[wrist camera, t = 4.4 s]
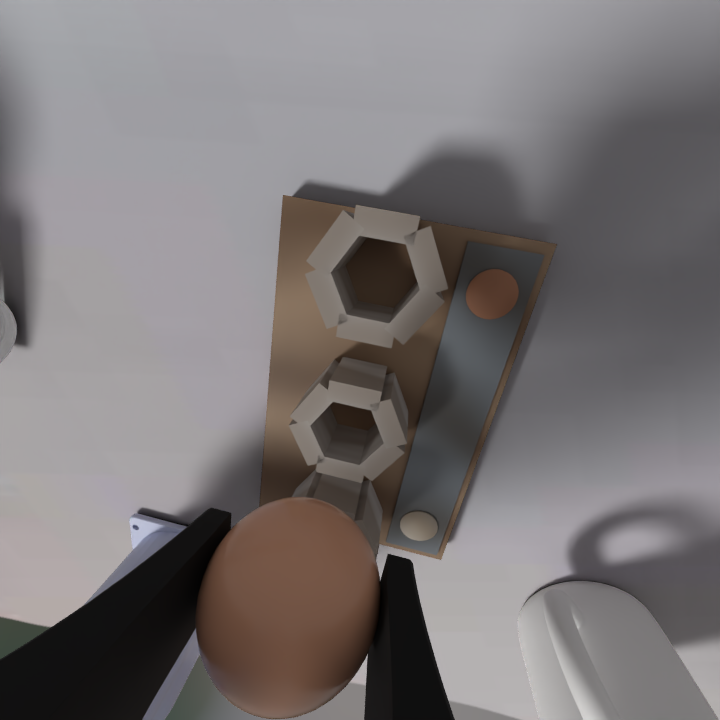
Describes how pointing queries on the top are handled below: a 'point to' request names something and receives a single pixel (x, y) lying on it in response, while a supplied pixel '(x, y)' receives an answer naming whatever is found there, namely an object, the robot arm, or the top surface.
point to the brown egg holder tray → (390, 363)
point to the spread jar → (6, 330)
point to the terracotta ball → (288, 608)
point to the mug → (603, 658)
